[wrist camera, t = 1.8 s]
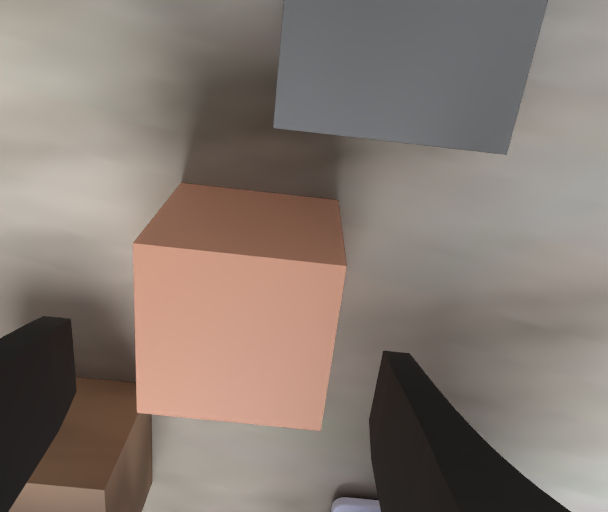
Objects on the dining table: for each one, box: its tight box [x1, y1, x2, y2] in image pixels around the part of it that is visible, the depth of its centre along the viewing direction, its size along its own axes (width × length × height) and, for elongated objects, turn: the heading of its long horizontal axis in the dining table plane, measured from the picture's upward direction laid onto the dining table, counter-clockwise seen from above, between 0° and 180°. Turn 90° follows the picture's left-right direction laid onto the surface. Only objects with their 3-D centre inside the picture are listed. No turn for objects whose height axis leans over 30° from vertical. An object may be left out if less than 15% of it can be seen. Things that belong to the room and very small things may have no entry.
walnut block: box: [9, 377, 152, 512], centre depth 19 cm, size 5×5×5 cm
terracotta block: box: [133, 183, 347, 431], centre depth 16 cm, size 5×5×5 cm
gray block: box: [273, 0, 548, 155], centre depth 13 cm, size 5×5×5 cm
